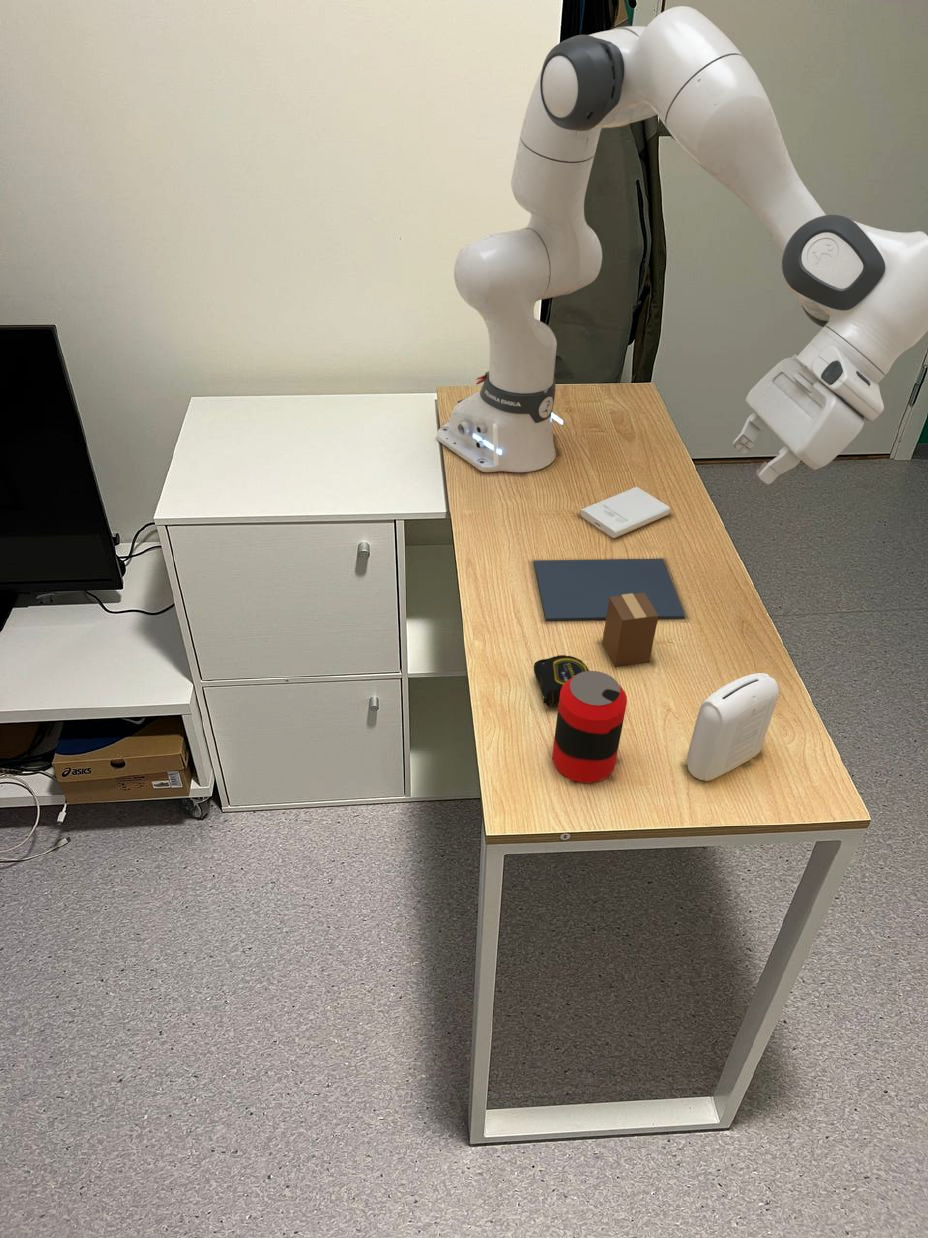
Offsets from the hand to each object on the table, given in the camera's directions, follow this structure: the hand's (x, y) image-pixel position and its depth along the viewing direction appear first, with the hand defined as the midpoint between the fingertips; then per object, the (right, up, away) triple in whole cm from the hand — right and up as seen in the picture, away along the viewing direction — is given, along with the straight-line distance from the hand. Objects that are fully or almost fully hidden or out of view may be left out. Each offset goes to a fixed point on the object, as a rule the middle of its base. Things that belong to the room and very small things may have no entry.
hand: (749, 464), depth 115 cm
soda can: (-20, -36, 0) cm, 41 cm away
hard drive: (-8, -2, +43) cm, 43 cm away
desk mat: (-13, -14, +27) cm, 33 cm away
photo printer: (-3, -36, +1) cm, 36 cm away
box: (-12, -23, +16) cm, 31 cm away
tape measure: (-22, -28, +9) cm, 37 cm away
